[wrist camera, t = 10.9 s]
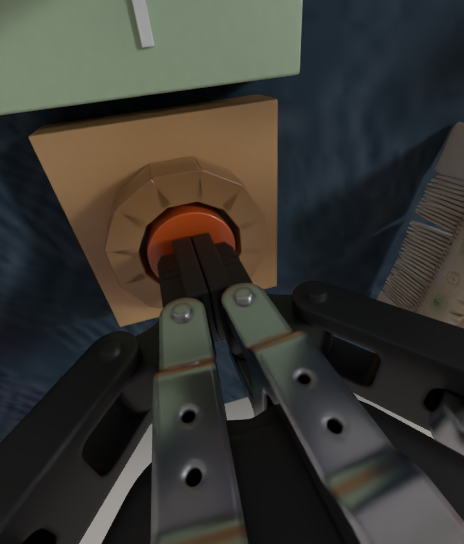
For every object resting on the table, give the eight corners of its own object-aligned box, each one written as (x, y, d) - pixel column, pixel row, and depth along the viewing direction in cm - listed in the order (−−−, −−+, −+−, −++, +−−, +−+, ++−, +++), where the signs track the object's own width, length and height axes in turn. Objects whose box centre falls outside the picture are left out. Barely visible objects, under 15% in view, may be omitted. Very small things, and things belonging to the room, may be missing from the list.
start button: (135, 204, 12) (135, 224, 10) (220, 187, 12) (231, 203, 11) (157, 274, 14) (160, 297, 13) (228, 257, 15) (239, 277, 13)
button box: (42, 125, 11) (9, 149, 8) (258, 93, 13) (299, 104, 10) (120, 300, 17) (118, 353, 14) (263, 265, 19) (290, 306, 16)
